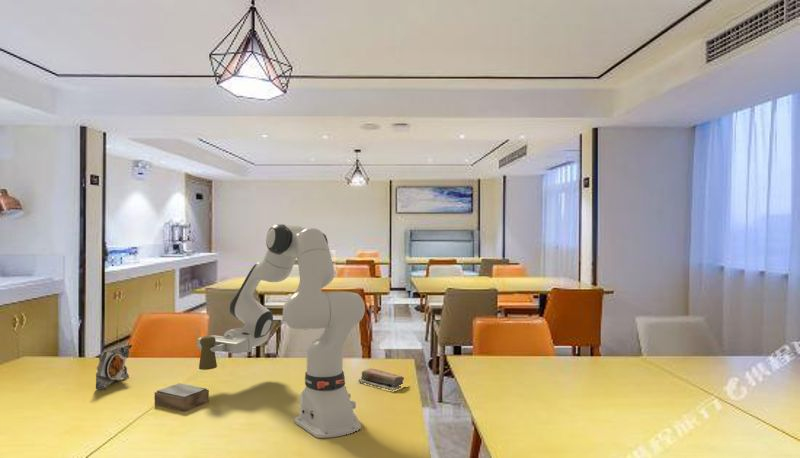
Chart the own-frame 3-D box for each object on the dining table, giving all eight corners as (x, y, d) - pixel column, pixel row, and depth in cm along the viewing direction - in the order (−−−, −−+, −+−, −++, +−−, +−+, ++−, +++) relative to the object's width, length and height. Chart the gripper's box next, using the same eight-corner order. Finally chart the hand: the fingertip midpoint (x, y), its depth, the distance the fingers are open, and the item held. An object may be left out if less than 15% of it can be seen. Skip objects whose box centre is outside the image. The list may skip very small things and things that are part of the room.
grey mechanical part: (106, 390, 181) (106, 354, 181) (95, 390, 181) (95, 353, 181) (132, 377, 196) (132, 344, 195) (122, 377, 196) (122, 344, 196)
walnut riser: (179, 395, 176) (179, 382, 176) (208, 401, 169) (208, 388, 169) (154, 404, 167) (154, 391, 167) (184, 411, 160) (184, 397, 160)
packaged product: (357, 371, 191) (374, 365, 198) (357, 383, 191) (374, 377, 198) (393, 380, 179) (410, 374, 187) (393, 394, 179) (410, 387, 187)
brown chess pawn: (219, 365, 181) (219, 334, 181) (213, 369, 175) (213, 338, 175) (202, 365, 181) (202, 334, 181) (195, 369, 175) (195, 338, 175)
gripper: (214, 330, 194) (184, 337, 181) (255, 334, 185) (227, 342, 172) (214, 346, 194) (184, 354, 181) (255, 351, 185) (227, 360, 172)
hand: (205, 348), depth 177 cm, fingers closed on brown chess pawn, 4 cm apart
